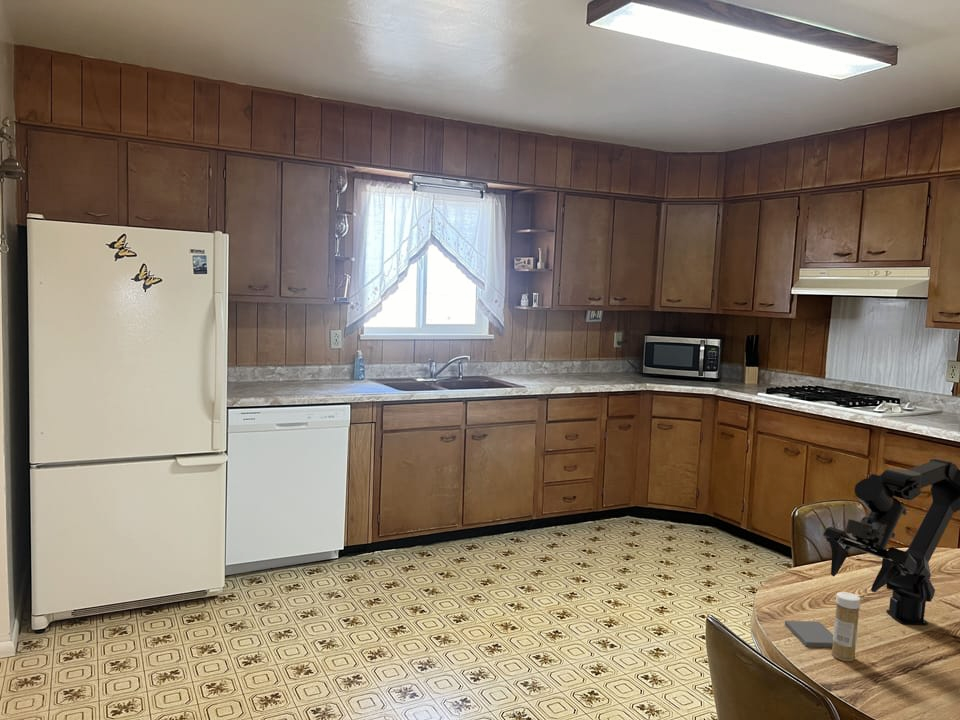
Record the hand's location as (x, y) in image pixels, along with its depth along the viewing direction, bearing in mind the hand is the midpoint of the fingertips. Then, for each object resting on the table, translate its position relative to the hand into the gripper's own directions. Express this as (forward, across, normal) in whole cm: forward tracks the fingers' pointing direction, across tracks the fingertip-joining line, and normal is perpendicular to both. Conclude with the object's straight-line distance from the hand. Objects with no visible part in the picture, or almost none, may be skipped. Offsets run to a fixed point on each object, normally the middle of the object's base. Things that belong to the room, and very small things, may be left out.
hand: (851, 583), depth 157 cm
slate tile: (+14, -5, +4) cm, 15 cm away
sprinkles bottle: (+15, +4, +2) cm, 16 cm away
